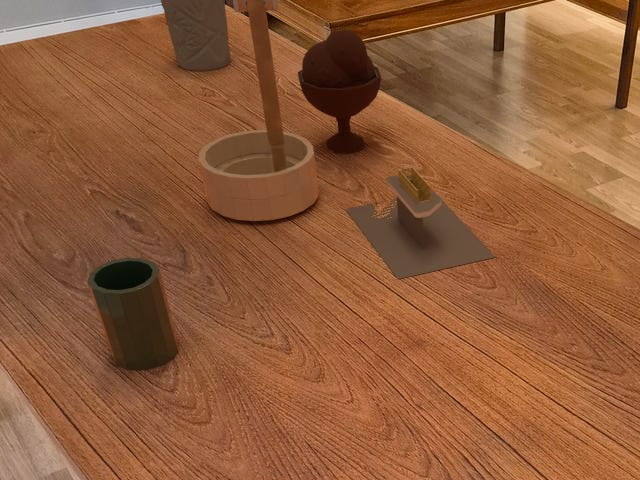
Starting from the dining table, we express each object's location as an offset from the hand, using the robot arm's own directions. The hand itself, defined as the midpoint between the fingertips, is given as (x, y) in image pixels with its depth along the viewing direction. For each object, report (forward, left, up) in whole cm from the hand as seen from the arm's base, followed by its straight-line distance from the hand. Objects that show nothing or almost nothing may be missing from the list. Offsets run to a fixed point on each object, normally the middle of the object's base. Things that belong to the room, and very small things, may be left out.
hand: (256, 9), depth 97 cm
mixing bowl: (-2, 0, -22) cm, 22 cm away
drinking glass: (-12, +51, -22) cm, 57 cm away
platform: (+16, -11, -22) cm, 29 cm away
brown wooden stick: (0, 0, -20) cm, 20 cm away
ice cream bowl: (+9, +15, -22) cm, 28 cm away
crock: (-13, -32, -22) cm, 41 cm away
